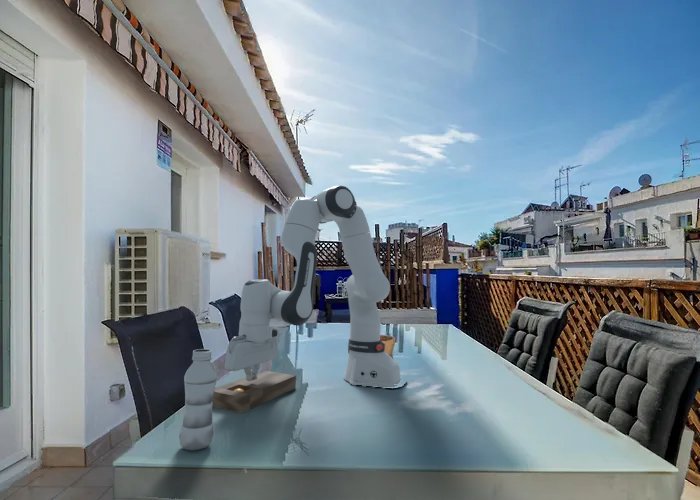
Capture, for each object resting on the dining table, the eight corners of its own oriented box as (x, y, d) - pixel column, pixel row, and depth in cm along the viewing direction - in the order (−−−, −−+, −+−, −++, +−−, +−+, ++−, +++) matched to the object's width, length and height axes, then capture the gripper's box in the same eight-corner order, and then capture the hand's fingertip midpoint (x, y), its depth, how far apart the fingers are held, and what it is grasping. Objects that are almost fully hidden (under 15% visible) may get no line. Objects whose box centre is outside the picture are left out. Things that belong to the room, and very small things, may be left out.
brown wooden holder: (295, 388, 123) (295, 375, 123) (241, 413, 99) (242, 397, 99) (265, 382, 128) (266, 370, 128) (207, 405, 104) (208, 390, 104)
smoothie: (276, 369, 145) (278, 333, 146) (271, 374, 139) (273, 335, 140) (260, 368, 146) (262, 332, 147) (254, 373, 139) (256, 334, 140)
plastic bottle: (184, 440, 82) (191, 347, 83) (216, 440, 82) (222, 348, 84) (173, 454, 75) (180, 353, 77) (208, 454, 76) (214, 354, 77)
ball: (249, 396, 108) (245, 386, 107) (241, 407, 105) (237, 397, 103) (238, 394, 110) (234, 384, 108) (230, 405, 107) (225, 395, 105)
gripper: (238, 338, 102) (235, 390, 101) (282, 330, 121) (280, 374, 120) (220, 336, 105) (217, 387, 104) (266, 328, 123) (263, 371, 122)
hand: (251, 380), depth 112 cm, fingers closed
